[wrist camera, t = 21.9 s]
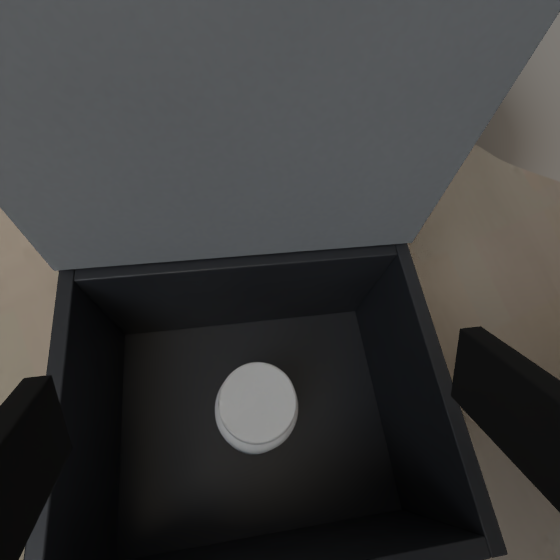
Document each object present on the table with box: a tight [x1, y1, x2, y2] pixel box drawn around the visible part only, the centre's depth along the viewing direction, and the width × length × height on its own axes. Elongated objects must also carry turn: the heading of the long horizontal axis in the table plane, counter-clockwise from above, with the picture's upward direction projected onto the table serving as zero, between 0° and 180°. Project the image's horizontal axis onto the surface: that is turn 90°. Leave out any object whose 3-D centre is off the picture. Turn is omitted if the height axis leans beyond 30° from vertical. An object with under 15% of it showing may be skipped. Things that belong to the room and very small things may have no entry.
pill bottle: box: [215, 362, 298, 455], centre depth 23 cm, size 5×5×8 cm
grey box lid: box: [0, 0, 560, 271], centre depth 14 cm, size 16×20×1 cm
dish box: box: [24, 243, 507, 560], centre depth 22 cm, size 16×20×10 cm
